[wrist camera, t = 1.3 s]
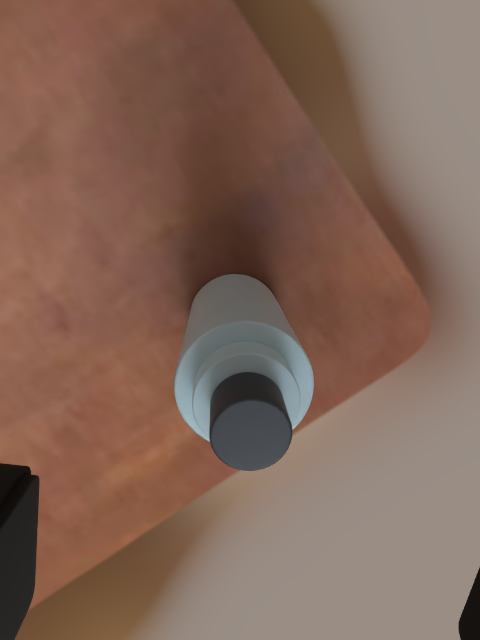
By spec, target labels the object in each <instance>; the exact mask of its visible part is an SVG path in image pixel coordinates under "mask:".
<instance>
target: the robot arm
mask: <svg viewBox="0 0 480 640" xmlns="http://www.w3.org/2000/svg"><path fill="white" fill-rule="evenodd" d="M38 503H39V476H37V475H31V470H30V467H28V466H21V465H11V464H2V463H0V640H14V639H15V637H16V635H17V633H18V630H19V628H20V626H21V624H22V622H23V620H24V618H25V616H26V613H27V611H28V609H29V606H30V604H31V601H32V597H33V593H34V588H35V570H36V548H37V525H38ZM459 634H460V638H461V640H480V568H479V571H478V573H477V576H476V578H475V581H474V584H473V586H472V589H471V591H470V594H469V597H468V600H467V602H466V604H465V607H464V610H463V612H462V615H461V617H460V620H459Z"/></svg>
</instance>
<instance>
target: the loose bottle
mask: <svg viewBox="0 0 480 640" xmlns="http://www.w3.org/2000/svg"><path fill="white" fill-rule="evenodd" d="M313 389H314V378H313V371H312V367H311V363H310V361H309V359H308V357H307V355H306V353H305V351H304V349H303V347H302V346H301V344H300V342H299V340H298V338H297V337H296V335H295V333H294V331H293V329H292V328H291V326H290V324H289V322H288V320H287V318H286V317H285V315H284V313H283V311H282V309H281V308H280V306H279V304H278V302H277V300H276V299H275V297H274V295H273V294H272V292H271V291H270V290H269V288H268V287H266V286H265V285H264V284H263V283H262V282H260V281H259V280H257V279H255V278H253V277H250V276H247V275H242V274H229V275H223V276H220V277H217V278H215V279H213V280H212V281H210V282H208V283H207V284H206V285H205V286H203V287H202V289H201V290H200V291H199V292H198V293H197V295H196V297H195V298H194V300H193V303H192V306H191V310H190V314H189V318H188V323H187V327H186V331H185V335H184V340H183V344H182V348H181V352H180V357H179V361H178V365H177V369H176V374H175V379H174V393H175V399H176V403H177V406H178V408H179V411H180V413H181V415H182V417H183V418H184V420H185V421H186V422H187V424H188V425H189V426H190V427H191V428H192V429H193V430H194V431H195V432H196V433H197V434H199V435H200V436H201V437H203V438H204V439H206V440H208V441H210V444H211V447H212V449H213V451H214V453H215V454H216V455H217V457H218V458H219V459H220V460H221V461H222V462H224V463H225V464H227V465H228V466H230V467H233V468H235V469H239V470H244V471H255V470H260V469H264V468H266V467H269V466H271V465H273V464H274V463H276V462H277V461H278V460H280V459H281V458H282V457H283V455H284V454H285V453H286V451H287V450H288V448H289V445H290V443H291V440H292V430H293V429H294V428H295V427H296V426H297V425H298V423H299V422H300V421H301V420H302V418H303V417H304V415H305V414H306V412H307V410H308V407H309V405H310V402H311V399H312V395H313Z"/></svg>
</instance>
